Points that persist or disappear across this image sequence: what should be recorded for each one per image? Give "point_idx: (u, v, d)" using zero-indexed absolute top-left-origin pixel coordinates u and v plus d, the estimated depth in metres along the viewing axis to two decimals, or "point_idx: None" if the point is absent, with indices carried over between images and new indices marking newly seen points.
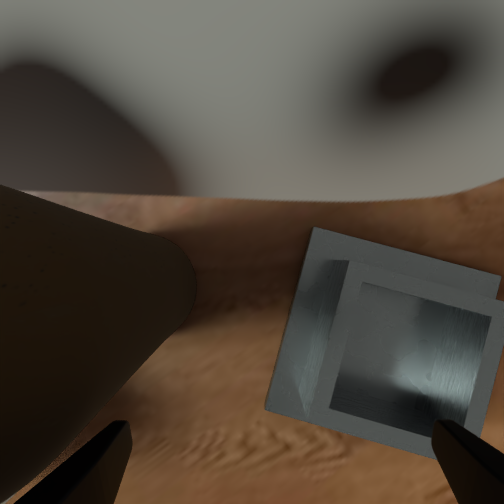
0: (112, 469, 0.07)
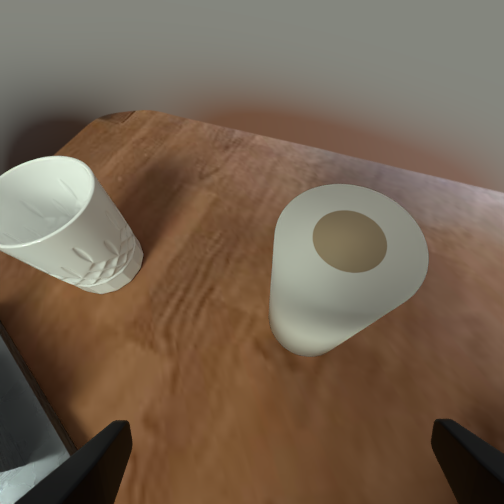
0: (112, 469, 0.07)
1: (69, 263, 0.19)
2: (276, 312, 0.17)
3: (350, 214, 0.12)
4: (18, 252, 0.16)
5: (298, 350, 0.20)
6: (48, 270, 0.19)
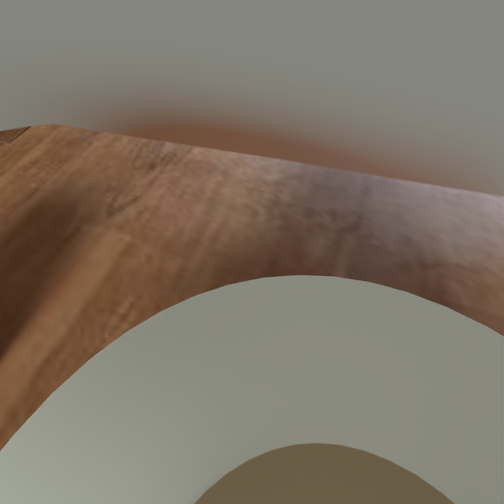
0: None
1: None
2: None
3: (339, 475, 0.02)
4: None
5: None
6: None
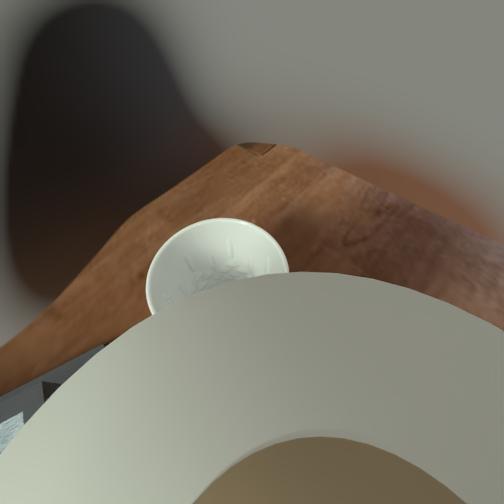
0: None
1: None
2: None
3: (343, 468, 0.02)
4: None
5: None
6: None
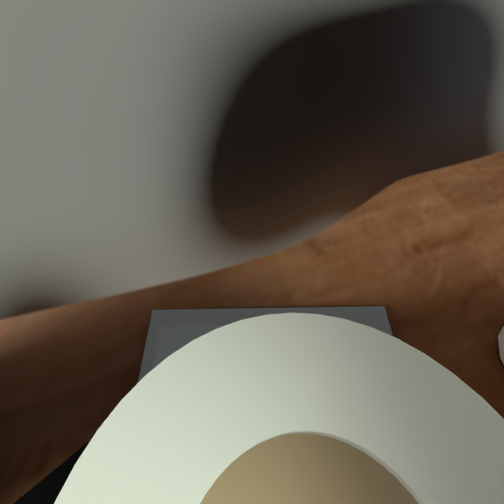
0: None
1: None
2: None
3: (316, 453, 0.03)
4: None
5: None
6: None
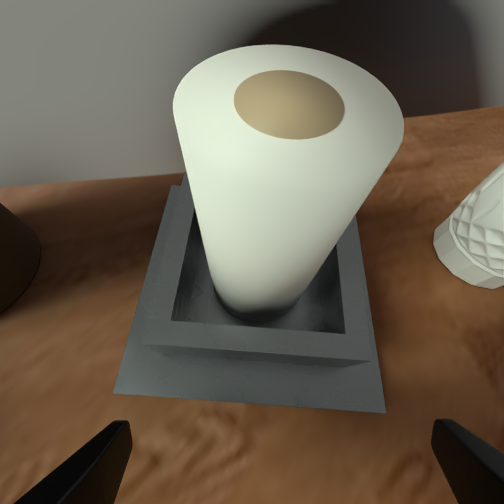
0: (112, 469, 0.07)
1: None
2: (206, 251, 0.12)
3: (294, 75, 0.08)
4: None
5: (243, 311, 0.16)
6: None
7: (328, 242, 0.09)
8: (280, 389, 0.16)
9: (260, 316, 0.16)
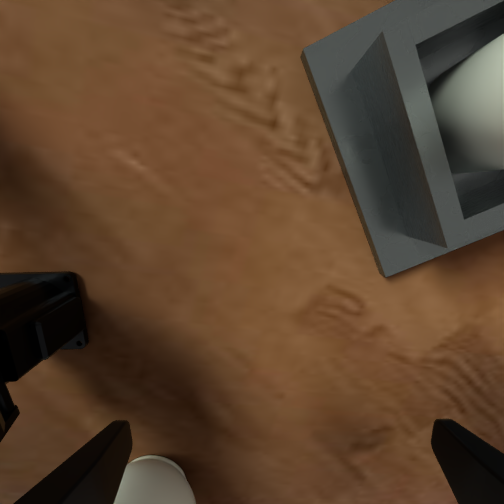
0: (112, 469, 0.07)
1: None
2: None
3: None
4: None
5: None
6: None
7: None
8: (368, 192, 0.18)
9: None
